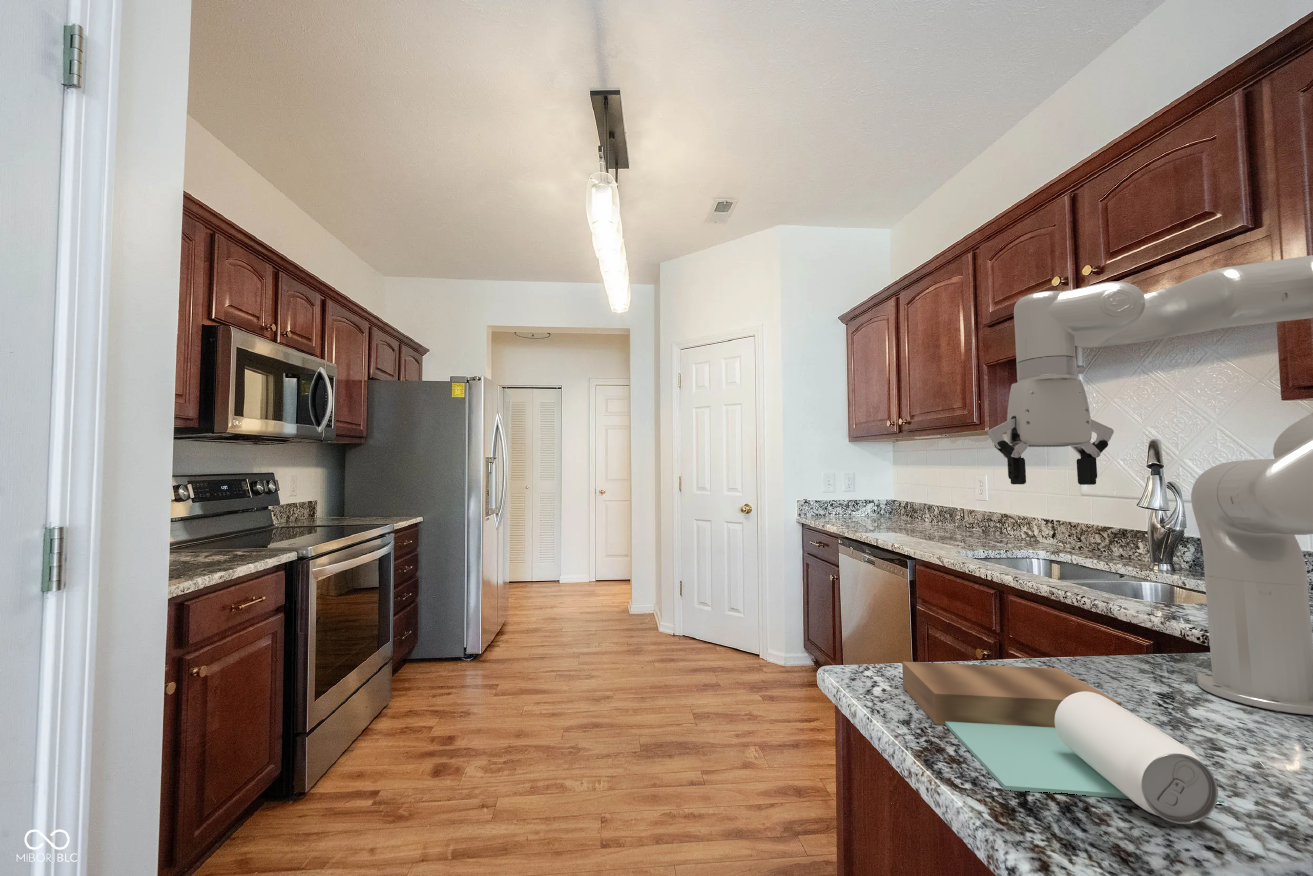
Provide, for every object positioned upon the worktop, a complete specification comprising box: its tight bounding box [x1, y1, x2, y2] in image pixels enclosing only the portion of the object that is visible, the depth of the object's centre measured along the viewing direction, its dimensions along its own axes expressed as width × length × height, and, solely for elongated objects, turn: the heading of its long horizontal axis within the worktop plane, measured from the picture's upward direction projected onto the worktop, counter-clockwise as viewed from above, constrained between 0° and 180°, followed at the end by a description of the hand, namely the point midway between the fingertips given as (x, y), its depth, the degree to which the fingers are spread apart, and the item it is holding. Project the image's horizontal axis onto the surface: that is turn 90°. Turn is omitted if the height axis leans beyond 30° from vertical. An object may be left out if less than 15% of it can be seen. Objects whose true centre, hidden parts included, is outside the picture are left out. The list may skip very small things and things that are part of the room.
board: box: [901, 661, 1122, 728], centre depth 69 cm, size 20×12×4 cm, turn 83°
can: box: [1055, 692, 1219, 825], centre depth 51 cm, size 6×6×12 cm
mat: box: [944, 721, 1226, 805], centre depth 56 cm, size 18×14×1 cm
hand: (1052, 484), depth 84 cm, fingers open, 9 cm apart
